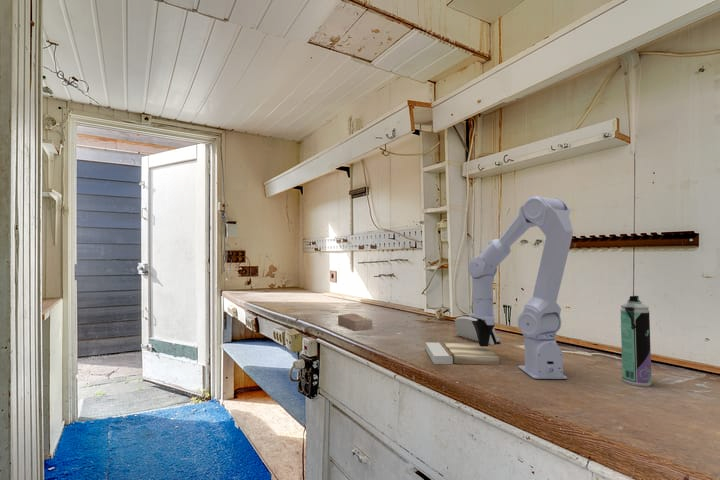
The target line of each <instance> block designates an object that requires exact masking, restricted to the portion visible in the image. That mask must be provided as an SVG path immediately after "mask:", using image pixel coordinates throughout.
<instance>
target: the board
mask: <svg viewBox="0 0 720 480" xmlns="http://www.w3.org/2000/svg"><path fill="white" fill-rule="evenodd" d="M425 351H426V353H427V355H428V356H429V358H430V360H431V361H432V363H433V364H434V365H453V364H454V362H453V360H452V354H451V353H450V352H449V351H448V349H447V348H446V347H445V346H444V342H442V341H439V342H425Z"/></svg>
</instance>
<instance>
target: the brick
mask: <svg viewBox="0 0 720 480" xmlns="http://www.w3.org/2000/svg"><path fill="white" fill-rule="evenodd" d="M337 324H338V326H340V327H343V328H346V329H348V330H352V331H355V332H360V331H371V330H373V319H371V318H367V317H363V316H362V315H361V316H360V315H358V314H357V313H344V314H338V316H337Z"/></svg>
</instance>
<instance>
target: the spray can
mask: <svg viewBox="0 0 720 480" xmlns="http://www.w3.org/2000/svg"><path fill="white" fill-rule="evenodd" d="M650 322H651V321H650V310H649V306H647V305H645V304H644V303H643V301H641V300H640V298H639V295H630V296H629V298H628V300H627V301H626V302H624V304H621V305H620V332H621V333H620V335H621V337H620V338H621V339H620V340H621V341H620V342H621V366H622V368H621V369H622V371H621V372H622V373H621V375H622V382H624V383H626V384H628V385H630V386H631V385H632V386H637V387H650V386H652V383H653V382H652V381H653V380H652V358H651V357H652V355H651V325H650Z"/></svg>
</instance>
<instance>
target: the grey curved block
mask: <svg viewBox="0 0 720 480" xmlns="http://www.w3.org/2000/svg"><path fill="white" fill-rule="evenodd" d="M469 314H470V313H466V314H462V315H459V317H456V318H455V320H454V324H455V328H456V334H457V337H460V336H462V337H461V338H463V337H465V338H464V339H467V338H469V339H468V340H471V339H472V340H471V341H474V340H475V341H474V342H478V337H477V333H476V330H475V327H474V325H473V323H472V321H477V320H478V318H475V317H470V316H469ZM497 342H498V343H497ZM495 343H497V344H500V343H502V344H503V342H502V338H501V337H498V335H497V332H496V329H495V327H494V328H493V329H492V332H491V335H490V339H489V344H490V346H493V345H495ZM489 344H488V345H489Z"/></svg>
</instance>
